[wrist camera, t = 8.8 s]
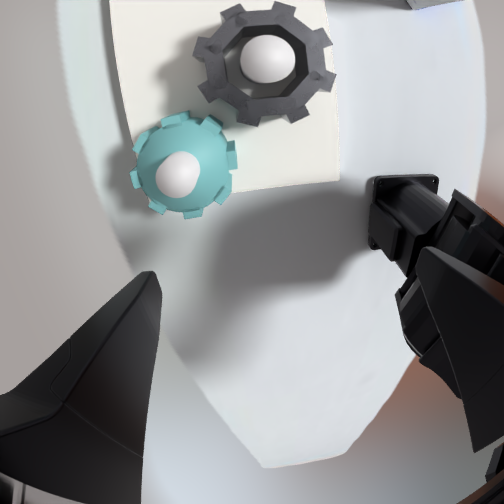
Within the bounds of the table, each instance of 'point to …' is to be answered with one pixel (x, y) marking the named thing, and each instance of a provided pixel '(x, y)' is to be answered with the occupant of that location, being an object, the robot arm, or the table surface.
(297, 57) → the gear
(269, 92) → the gear board
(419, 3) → the medicine box
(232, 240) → the table surface
